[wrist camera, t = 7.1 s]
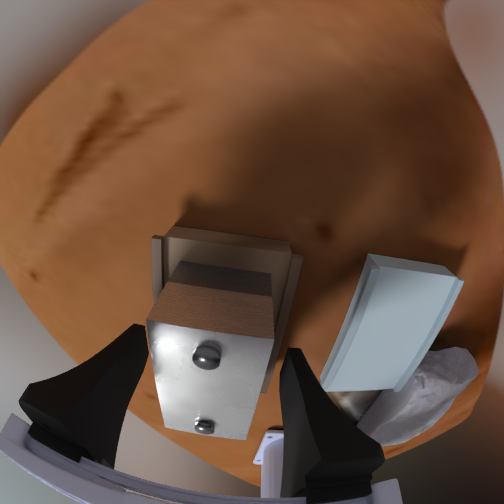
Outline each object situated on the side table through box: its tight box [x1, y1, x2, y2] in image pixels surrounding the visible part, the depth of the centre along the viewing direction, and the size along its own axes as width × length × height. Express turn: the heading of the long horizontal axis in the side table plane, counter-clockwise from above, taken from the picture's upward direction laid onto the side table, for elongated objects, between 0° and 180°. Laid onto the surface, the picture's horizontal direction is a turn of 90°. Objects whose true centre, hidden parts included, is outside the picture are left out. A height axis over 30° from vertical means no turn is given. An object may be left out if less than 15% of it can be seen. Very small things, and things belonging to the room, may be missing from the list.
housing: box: [146, 261, 274, 440], centre depth 12 cm, size 8×4×5 cm, turn 172°
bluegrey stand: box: [320, 253, 464, 392], centre depth 15 cm, size 7×10×2 cm
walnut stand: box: [151, 226, 303, 393], centre depth 15 cm, size 7×10×2 cm
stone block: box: [356, 347, 479, 446], centre depth 19 cm, size 12×5×10 cm
